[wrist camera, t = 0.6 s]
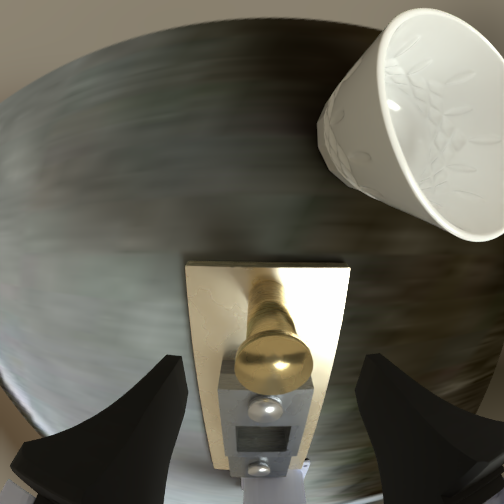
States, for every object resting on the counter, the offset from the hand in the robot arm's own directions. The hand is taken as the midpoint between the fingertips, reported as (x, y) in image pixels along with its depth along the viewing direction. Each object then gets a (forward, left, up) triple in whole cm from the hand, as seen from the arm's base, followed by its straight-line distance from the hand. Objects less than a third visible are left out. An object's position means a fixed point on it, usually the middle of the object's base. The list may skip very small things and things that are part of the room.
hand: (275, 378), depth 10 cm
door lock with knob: (-11, 0, -8) cm, 14 cm away
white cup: (+10, -6, -8) cm, 14 cm away
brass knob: (0, 0, -7) cm, 7 cm away
